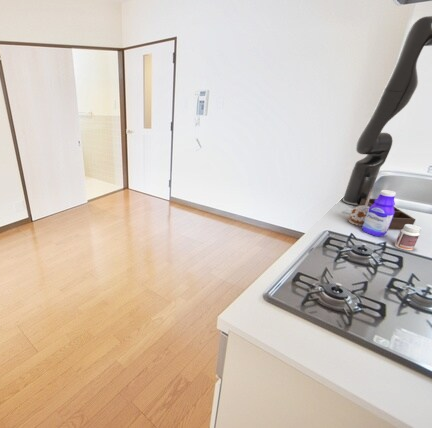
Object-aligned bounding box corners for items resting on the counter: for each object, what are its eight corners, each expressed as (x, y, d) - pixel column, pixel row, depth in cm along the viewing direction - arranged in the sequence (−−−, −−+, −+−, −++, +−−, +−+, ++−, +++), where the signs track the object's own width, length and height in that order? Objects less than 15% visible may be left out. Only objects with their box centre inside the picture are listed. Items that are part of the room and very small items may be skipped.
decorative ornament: (343, 220, 121) (354, 187, 114) (359, 218, 121) (371, 186, 115) (359, 228, 114) (371, 194, 107) (376, 226, 114) (390, 192, 108)
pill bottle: (416, 250, 98) (426, 229, 94) (402, 250, 98) (412, 230, 95) (404, 243, 102) (413, 223, 99) (390, 243, 102) (399, 223, 99)
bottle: (358, 230, 112) (372, 190, 105) (366, 227, 114) (381, 187, 107) (379, 238, 106) (397, 196, 99) (388, 235, 108) (405, 193, 101)
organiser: (358, 207, 131) (361, 198, 129) (377, 208, 129) (381, 198, 127) (388, 229, 112) (392, 218, 110) (410, 230, 110) (415, 219, 108)
